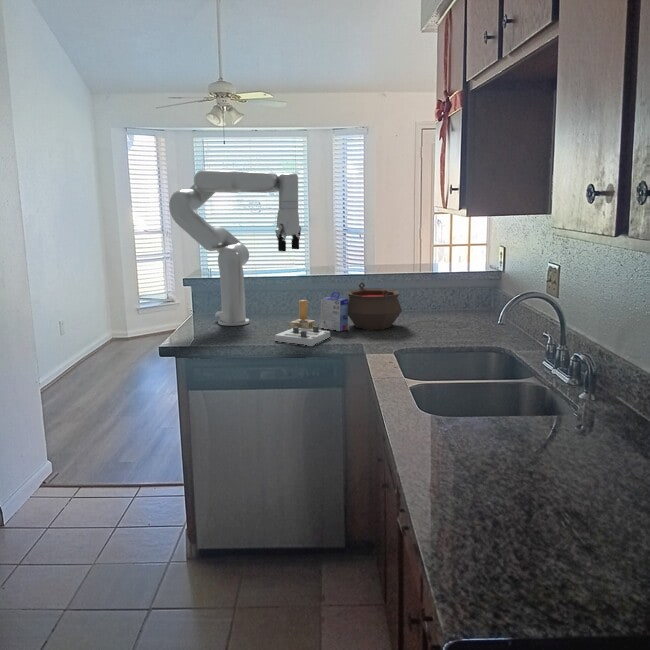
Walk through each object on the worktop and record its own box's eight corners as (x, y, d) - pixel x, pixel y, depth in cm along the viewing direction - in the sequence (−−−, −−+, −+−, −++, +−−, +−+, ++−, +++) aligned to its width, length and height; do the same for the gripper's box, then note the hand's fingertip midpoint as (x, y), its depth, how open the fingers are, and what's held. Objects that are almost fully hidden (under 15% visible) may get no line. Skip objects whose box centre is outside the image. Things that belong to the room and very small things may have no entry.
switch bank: (275, 341, 235) (274, 334, 235) (295, 333, 247) (294, 327, 247) (311, 346, 228) (311, 338, 228) (330, 338, 240) (330, 330, 240)
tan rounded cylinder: (297, 331, 251) (297, 300, 248) (301, 330, 254) (301, 299, 251) (304, 332, 249) (304, 301, 247) (308, 331, 252) (309, 300, 250)
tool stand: (290, 332, 250) (290, 322, 249) (299, 328, 256) (299, 318, 255) (306, 334, 247) (306, 323, 246) (315, 330, 253) (315, 320, 252)
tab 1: (289, 334, 239) (289, 327, 238) (292, 333, 241) (292, 326, 240) (299, 335, 237) (299, 328, 237) (302, 334, 239) (302, 327, 238)
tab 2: (297, 338, 232) (297, 331, 232) (300, 337, 234) (300, 330, 233) (307, 340, 231) (307, 332, 230) (310, 338, 232) (310, 331, 232)
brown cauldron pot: (414, 329, 254) (415, 287, 250) (357, 335, 245) (357, 291, 242) (386, 318, 276) (386, 279, 272) (333, 322, 267) (333, 283, 263)
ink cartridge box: (348, 329, 254) (348, 292, 251) (340, 332, 250) (340, 294, 247) (328, 326, 260) (328, 290, 257) (320, 328, 256) (319, 292, 253)
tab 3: (309, 333, 240) (309, 326, 240) (312, 332, 242) (312, 325, 241) (319, 334, 238) (319, 327, 238) (321, 333, 240) (321, 326, 239)
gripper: (292, 205, 263) (292, 247, 267) (268, 206, 248) (268, 251, 252) (308, 205, 260) (308, 248, 263) (284, 206, 245) (285, 252, 248)
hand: (288, 250), depth 258 cm, fingers open, 9 cm apart
